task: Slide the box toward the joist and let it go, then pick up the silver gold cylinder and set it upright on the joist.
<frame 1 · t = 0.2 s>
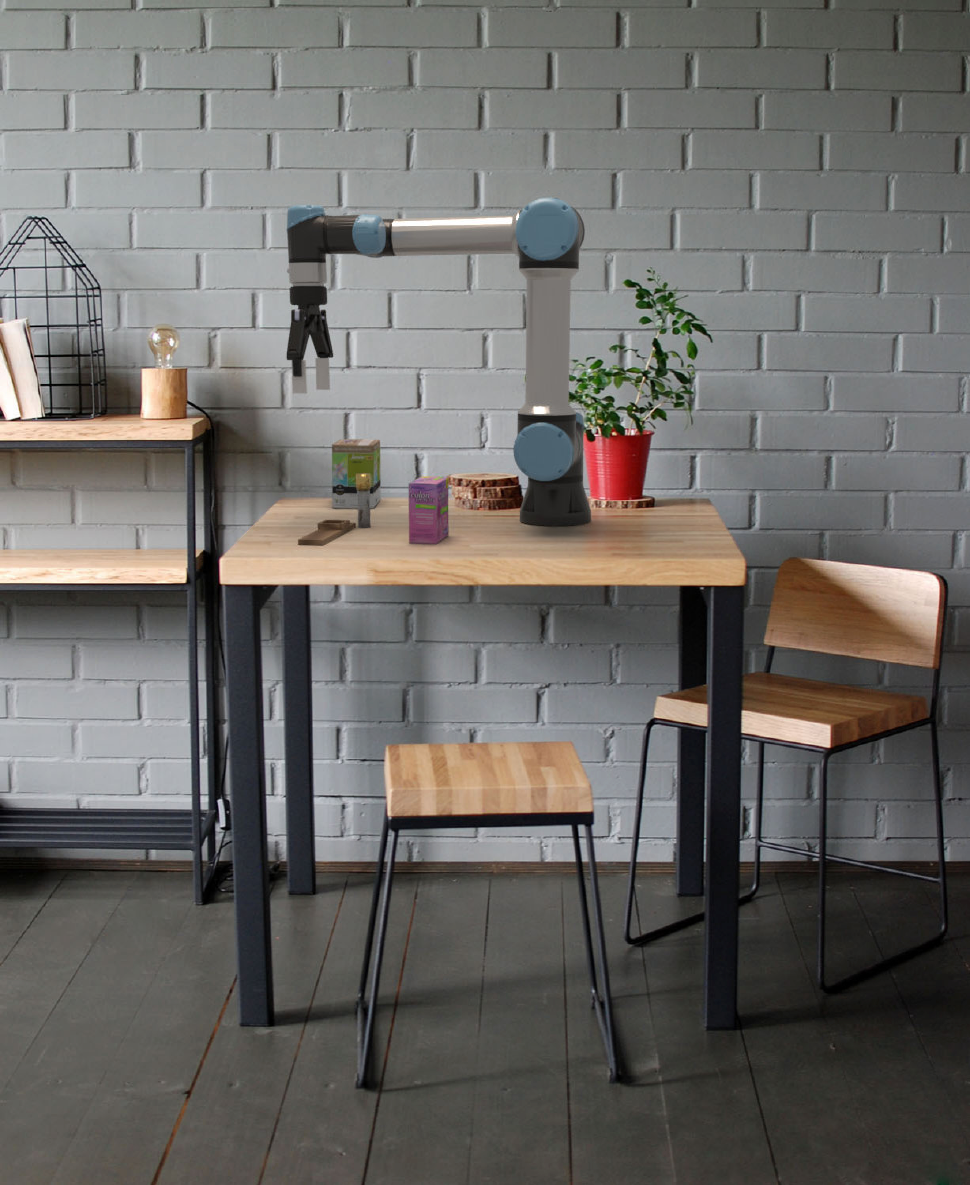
hand: (311, 391, 271), 28 cm above the table, fingers open, 13 cm apart
joist: (328, 535, 264), on the table
tea box: (357, 505, 307), on the table
silver gold cylinder: (364, 526, 275), on the table
box: (429, 540, 259), on the table
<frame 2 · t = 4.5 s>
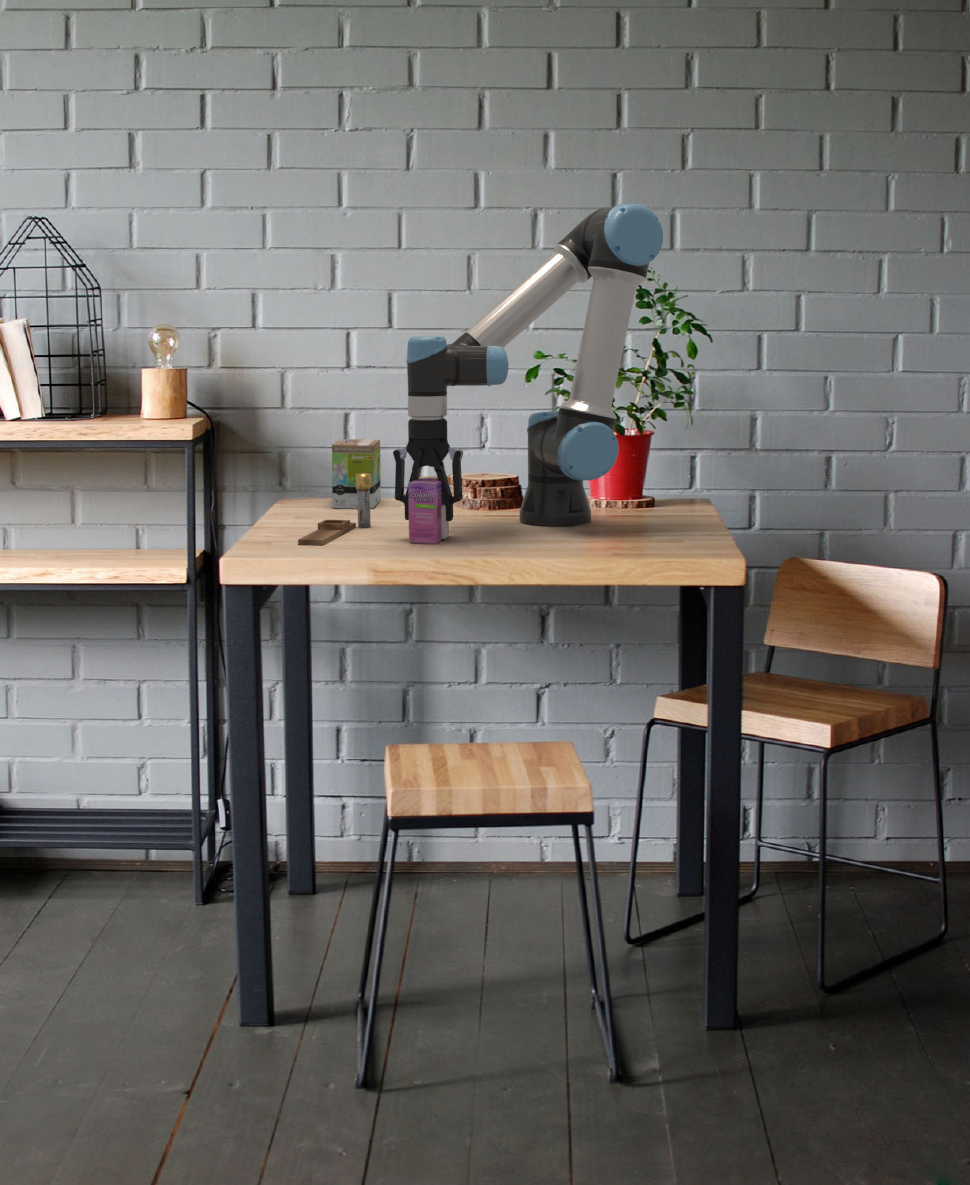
hand: (429, 536, 259), 0 cm above the table, fingers closed on box, 6 cm apart
box: (429, 540, 259), on the table, touching gripper
everything else where it was.
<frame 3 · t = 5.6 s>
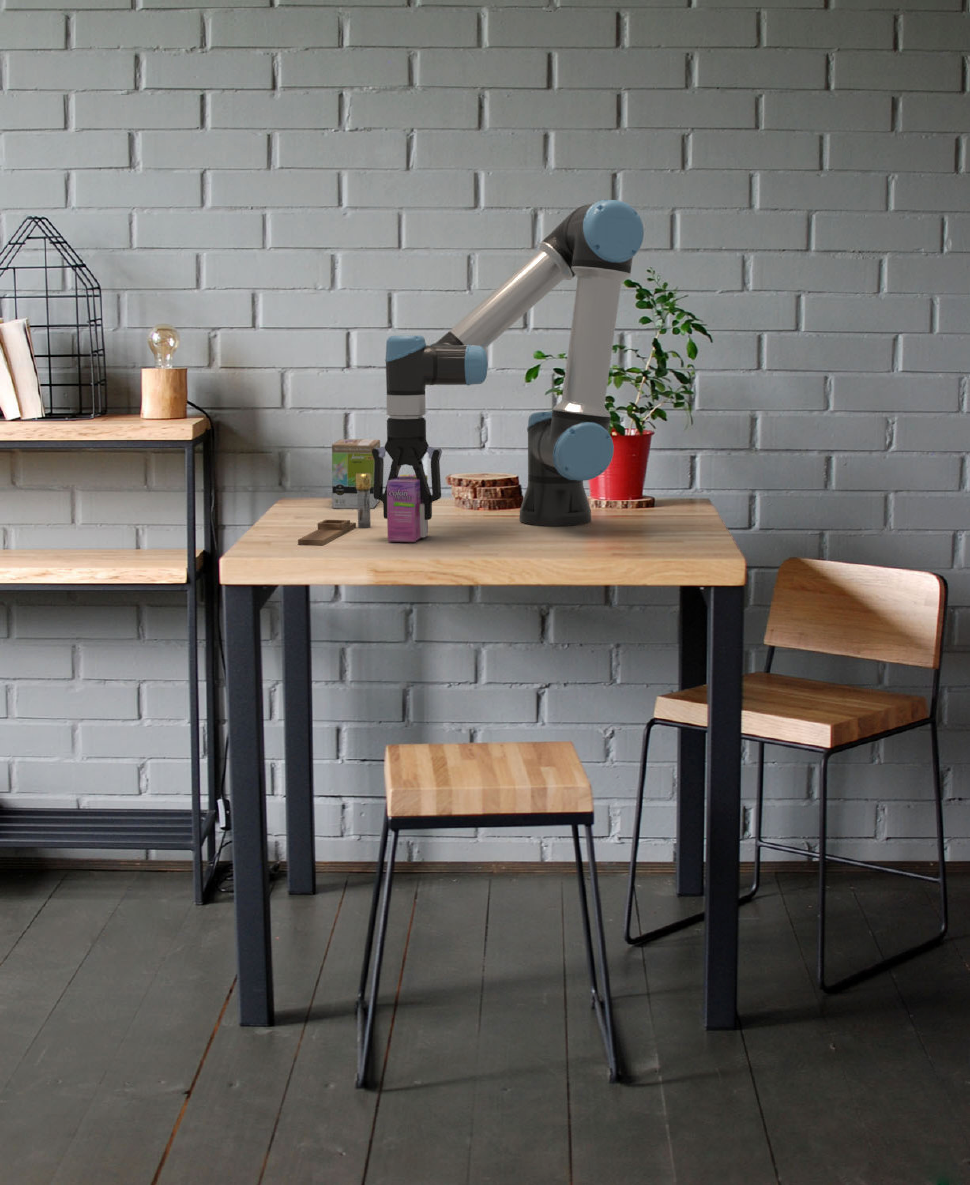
hand: (408, 535, 259), 1 cm above the table, fingers closed on box, 6 cm apart
box: (408, 538, 260), on the table, touching gripper
everything else where it was.
when the fingers open (1 cm above the table, at t = 6.9 s): box stays where it is, on the table.
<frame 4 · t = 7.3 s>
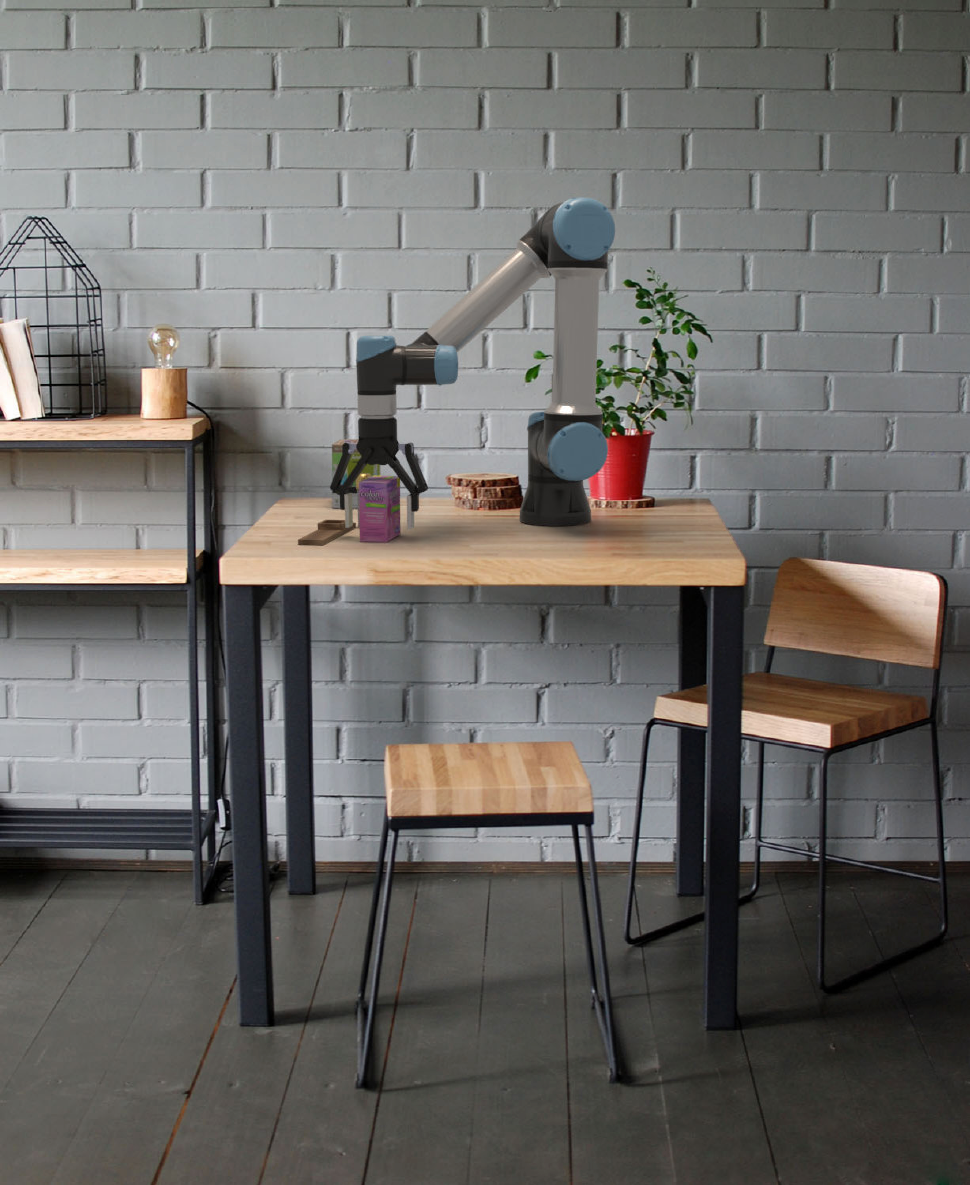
hand: (379, 527, 260), 2 cm above the table, fingers open, 12 cm apart
box: (380, 539, 261), on the table
everything else where it was.
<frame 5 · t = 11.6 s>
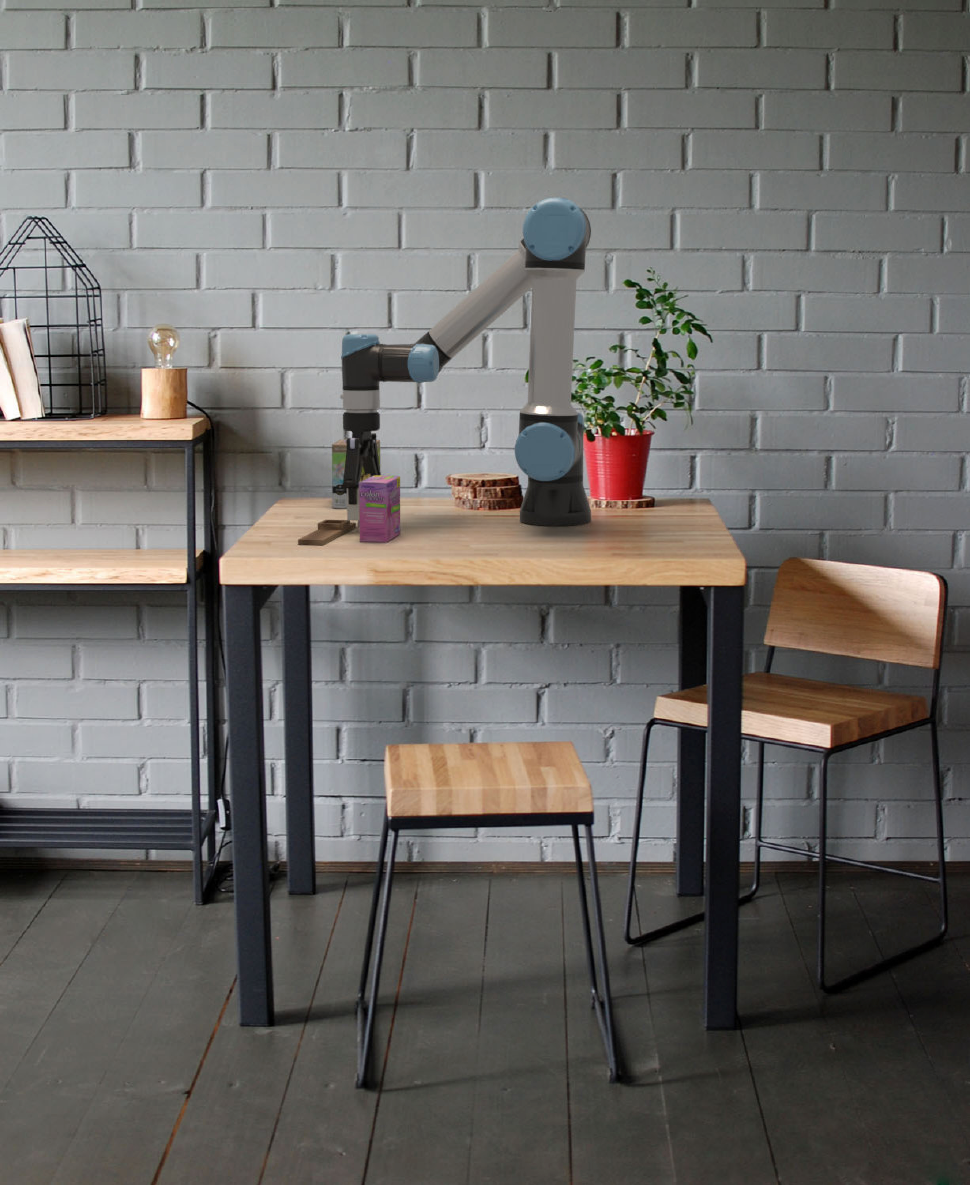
hand: (363, 516, 274), 2 cm above the table, fingers open, 12 cm apart
nothing on the table moved.
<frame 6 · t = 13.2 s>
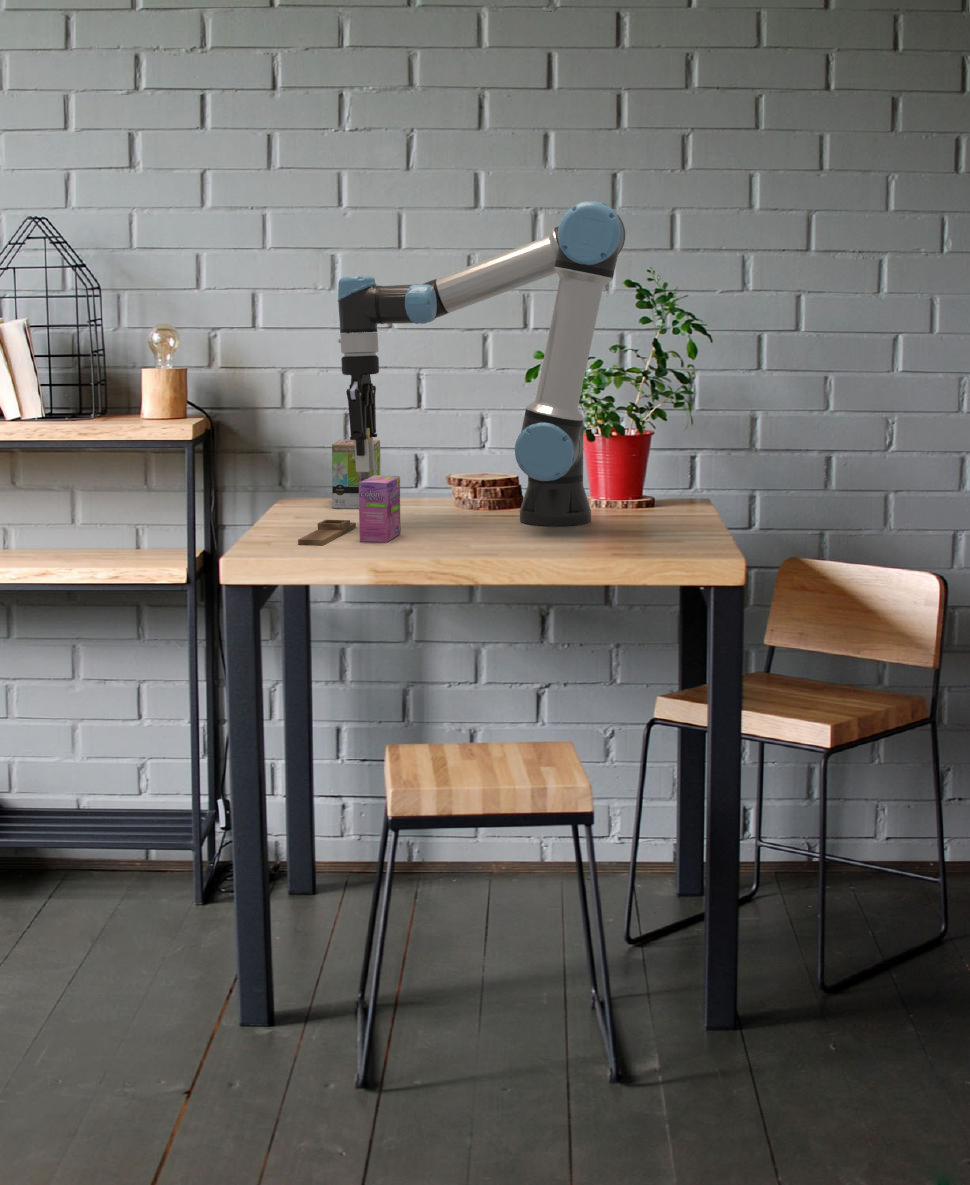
hand: (365, 470, 272), 12 cm above the table, fingers closed on silver gold cylinder, 3 cm apart
silver gold cylinder: (364, 481, 273), point 9 cm above the table, touching gripper
everything else where it was.
when the fingers open (3 cm above the table, at t = 17.1 s): silver gold cylinder stays where it is, resting on joist.
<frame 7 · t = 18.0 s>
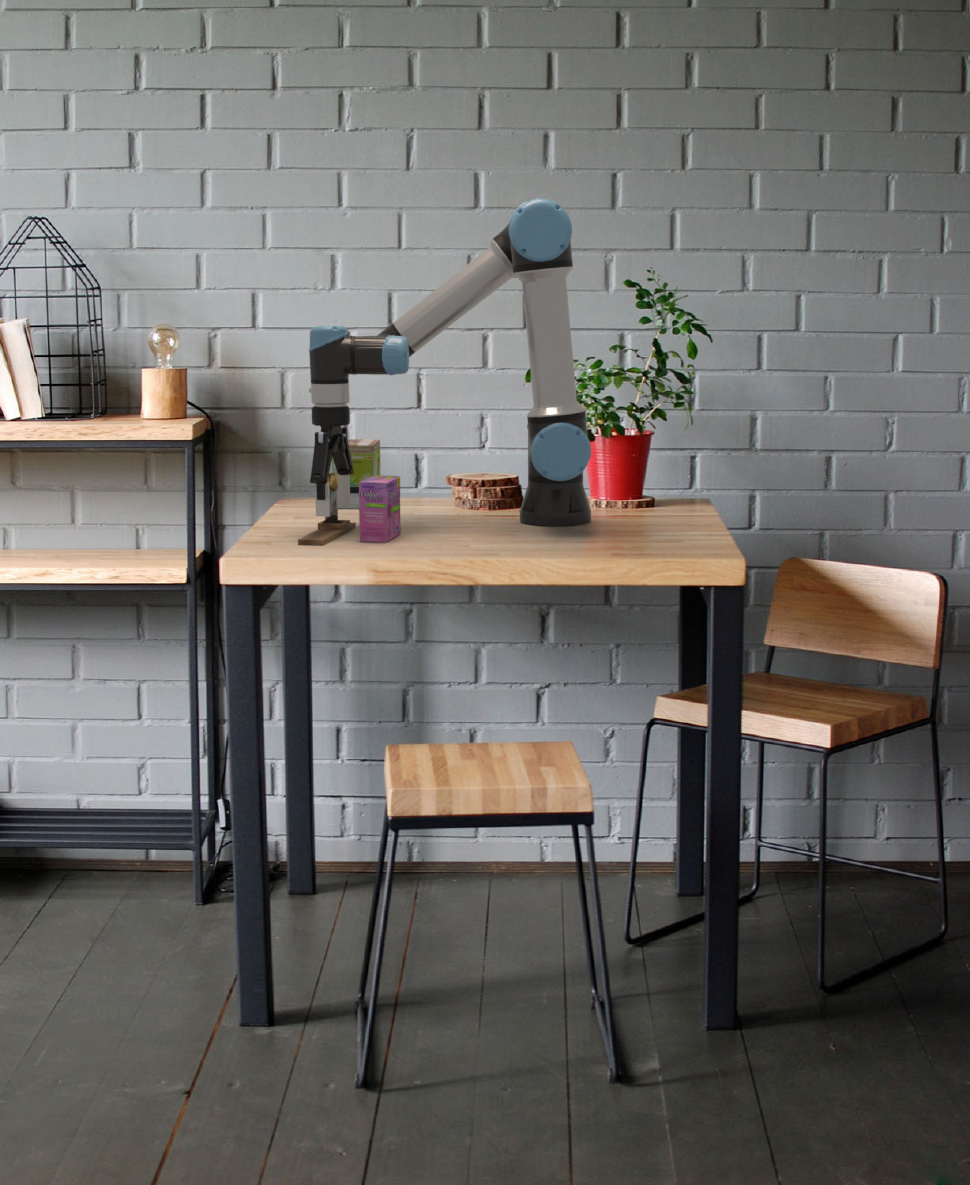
hand: (333, 511, 267), 4 cm above the table, fingers open, 13 cm apart
silver gold cylinder: (331, 527, 268), point 1 cm above the table, touching joist
everything else where it was.
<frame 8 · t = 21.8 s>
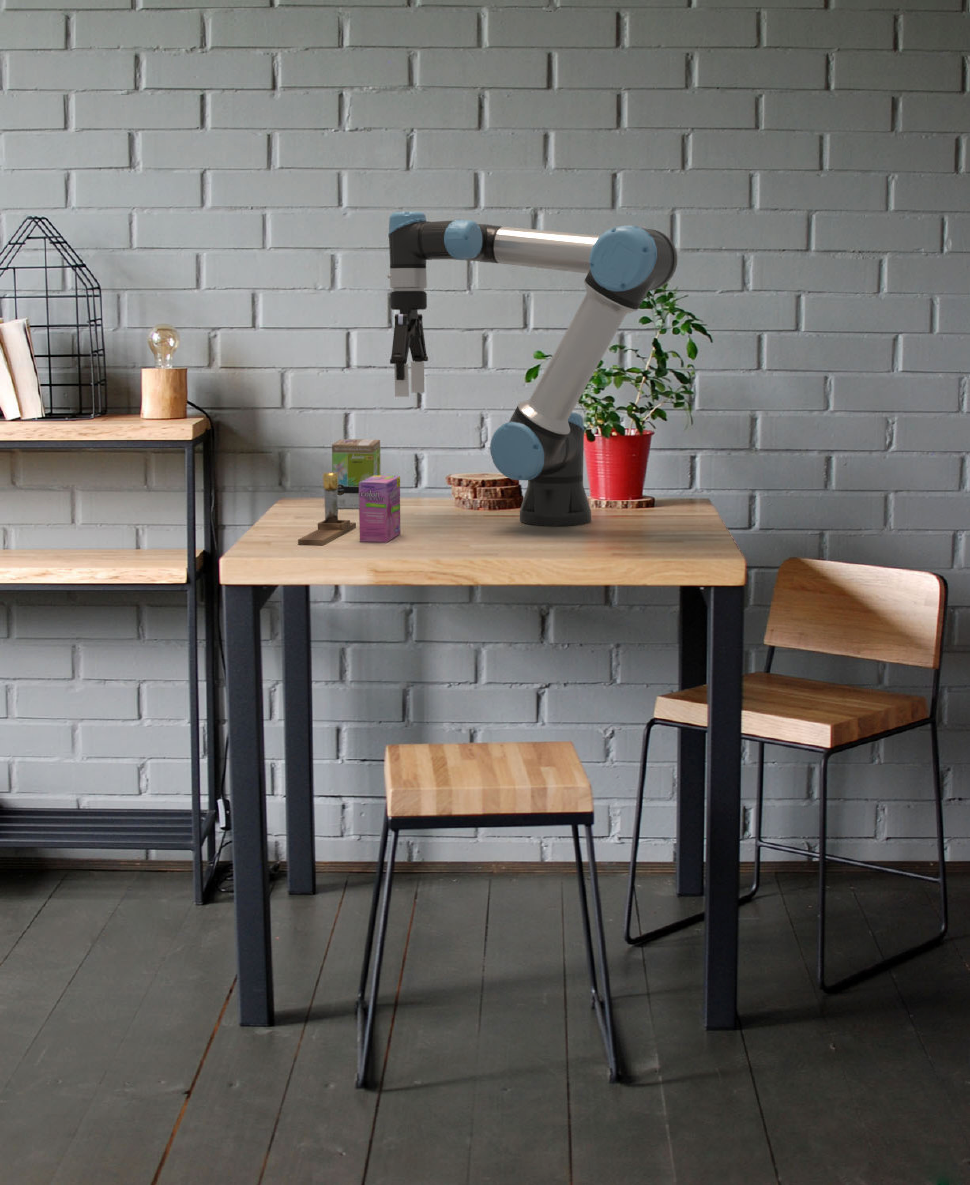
hand: (410, 394, 276), 27 cm above the table, fingers open, 13 cm apart
nothing on the table moved.
at the end: box moved 9.9 cm from its start; silver gold cylinder 0.6 cm from the target spot on the joist, point 1.0 cm above the joist's base; silver gold cylinder tilted 0° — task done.
